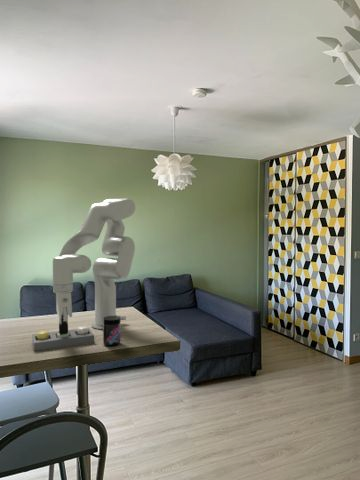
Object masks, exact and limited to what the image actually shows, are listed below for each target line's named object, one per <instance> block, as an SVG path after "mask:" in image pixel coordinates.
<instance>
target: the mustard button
mask: <svg viewBox="0 0 360 480" xmlns="http://www.w3.org/2000/svg"><path fill="white" fill-rule="evenodd" d="M36 334H37V340H43V339H49V331H48V330H42V331H39V332H37V333H36Z"/></svg>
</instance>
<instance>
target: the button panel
mask: <svg viewBox="0 0 360 480" xmlns="http://www.w3.org/2000/svg"><path fill="white" fill-rule="evenodd" d="M48 332H49V331H48ZM58 333H59V330H58V331H50V332H49V339H43V340H37V333H34V334H32V338H31V339H32V346H33V347H32V348H33V351H34V352H36V351H44V350H51V349H58V348H65V347H73V346H80V345H86V344H87V345H88V344H94V343H95V334H94V333H93V332H92V331H91V329H90V328H89V327H88V334H83V335H77V328H76V329H68V333H69V336H67V337H59V338H57V334H58Z"/></svg>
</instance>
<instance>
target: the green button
mask: <svg viewBox="0 0 360 480" xmlns="http://www.w3.org/2000/svg"><path fill="white" fill-rule="evenodd" d="M67 336H69V333H67V334H60V333H58V334H57V338H59V337H67Z"/></svg>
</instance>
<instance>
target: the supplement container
mask: <svg viewBox="0 0 360 480" xmlns="http://www.w3.org/2000/svg"><path fill="white" fill-rule="evenodd" d="M119 316H120V315H117V316H106V317H104V318H103V329H102V330H103V331H102V332H103V334H102V335H103V336H102V340H103V341H102V342H103V345H104V346H105V347H112V348H114V347H117V346H119V345H120V344H121V321H122V320H121V317H119Z"/></svg>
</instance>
